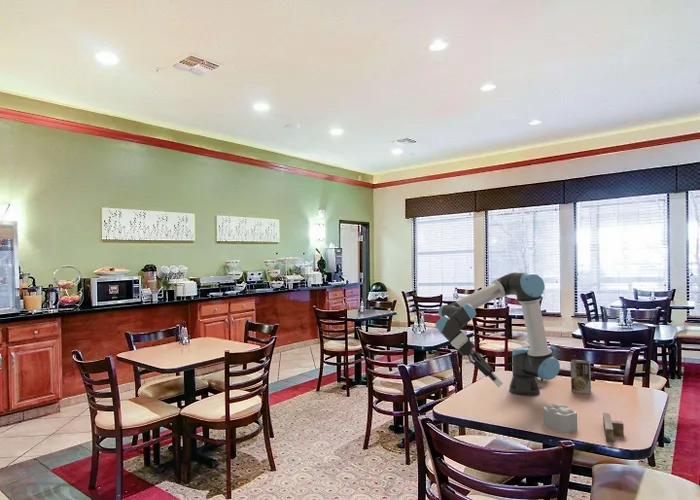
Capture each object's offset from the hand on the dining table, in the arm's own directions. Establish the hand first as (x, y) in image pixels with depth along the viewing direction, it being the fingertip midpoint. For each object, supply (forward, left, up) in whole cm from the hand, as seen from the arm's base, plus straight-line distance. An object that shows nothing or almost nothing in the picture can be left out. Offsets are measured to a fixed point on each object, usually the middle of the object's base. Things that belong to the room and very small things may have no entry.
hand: (500, 385), depth 199 cm
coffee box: (+32, +60, -15) cm, 70 cm away
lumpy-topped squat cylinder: (+23, 0, -15) cm, 27 cm away
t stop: (+43, 0, -15) cm, 46 cm away
